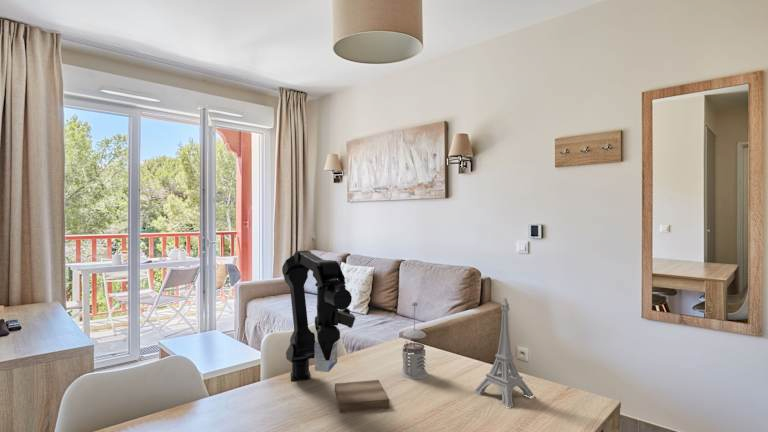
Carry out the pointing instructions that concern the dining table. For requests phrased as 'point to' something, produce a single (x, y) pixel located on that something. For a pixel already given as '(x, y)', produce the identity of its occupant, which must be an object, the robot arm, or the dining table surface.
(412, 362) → the french press
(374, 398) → the walnut block
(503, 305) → the eiffel tower
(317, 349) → the medicine box
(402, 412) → the dining table surface
